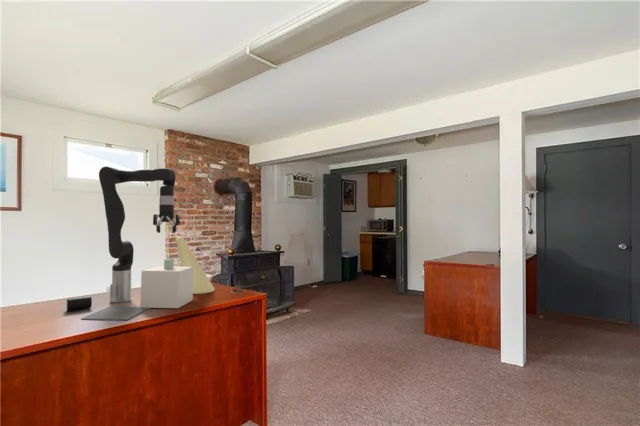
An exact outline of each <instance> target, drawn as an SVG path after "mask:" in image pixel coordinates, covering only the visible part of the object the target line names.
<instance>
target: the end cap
mask: <svg viewBox="0 0 640 426" xmlns="http://www.w3.org/2000/svg"><path fill="white" fill-rule="evenodd" d="M92 301H93V300H92V296H91V295H82V296H78V297H68V298H67V299H66V311H67V312H68V313H72V312H77V311H85V310H90V309H91V308H92V303H93V302H92Z"/></svg>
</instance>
